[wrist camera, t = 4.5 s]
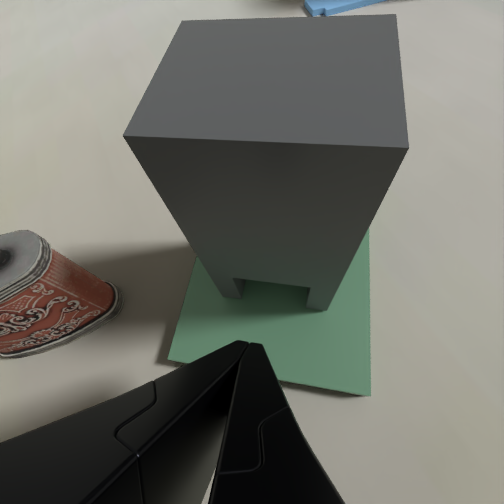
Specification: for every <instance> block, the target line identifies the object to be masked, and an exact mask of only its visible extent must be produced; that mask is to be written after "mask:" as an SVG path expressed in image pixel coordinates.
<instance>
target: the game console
mask: <svg viewBox="0 0 504 504" xmlns="http://www.w3.org/2000/svg"><path fill="white" fill-rule="evenodd" d="M382 1H386V0H305V5H304V6H305V7H306V9H307V10H308V11H309V13H310V14H311V15H312V17H313V16H317V15H320V14H324V15H325V16H329V15H333V14H337V13H341V12H344V11H348V10H352V9H356V8H360V7H363V6H367V5H371V4H375V3H379V2H382Z"/></svg>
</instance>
